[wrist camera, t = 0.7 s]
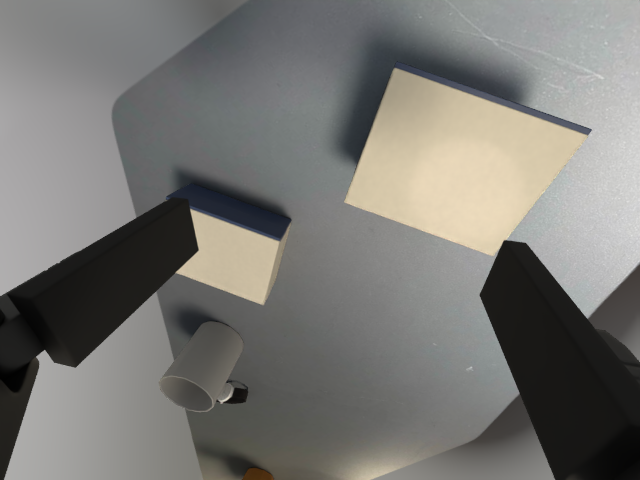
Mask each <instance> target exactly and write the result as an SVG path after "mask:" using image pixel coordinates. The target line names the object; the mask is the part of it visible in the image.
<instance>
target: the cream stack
mask: <svg viewBox="0 0 640 480" xmlns="http://www.w3.org/2000/svg"><path fill="white" fill-rule="evenodd" d="M172 197H177V198H185V199H188V201H189V206H190V210H191V215H192V220H193V225H194V229H195V234H196V239H197V244H198V248H199V251H198V252H197V253H196V254H195V255H194V256H193V257H192V258H191V259H189V260H188V261H187V262H186V263H185V264H184V265H183V266H182V267H181V268H180V269H179V270H178V271H177V272H176V273H178V274H181V275H184V276H186V277H189V278H192V279H194V280H197V281H200V282H202V283H205V284H208V285H210V286H213V287H216V288H219V289H221V290H224V291H227V292H229V293H232V294H235V295H237V296H240V297H243V298H245V299H248V300H251V301H253V302H256V303H259V304H261V305H264V303H265V301H266V299H267V297H268V296H269V294H270V291H271V288H272V286H273V284H274V283H275V280H276V277H277V273H278V269H279V266H280V262H281V258H282V254H283V251H284V247H285V243H286V240H287V236H288V232H289V229H290V225H291V221H292V220H291V219H288V218H285V217H282V216H280V215H277V214H274V213H271V212H269V211H266V210H263V209H260V208H258V207H255V206H252V205H249V204H247V203H244V202H241V201H238V200H236V199H233V198H230V197H227V196H225V195H222V194H219V193H217V192H214V191H211V190H208V189H206V188H203V187H200V186H197V185H195V184H192V183H190V184H188V185H187V186H185V187H183V188H181V189H179V190H177V191H175V192H173V193H172V194H170V195H168V196H166V201H167V200H168V199H170V198H172Z"/></svg>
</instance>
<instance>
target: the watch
mask: <svg viewBox="0 0 640 480" xmlns="http://www.w3.org/2000/svg"><path fill="white" fill-rule="evenodd" d="M247 395H248V391H247V390H245V389H241V388H234V387H232V385H231V384H229V383H225V385H224V387H223V389H222V391H221V393H220V395H219V396H218V398H217V400H216V402H221V404H222V403H229V404H237V403H244V402H246V399H247Z"/></svg>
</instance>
